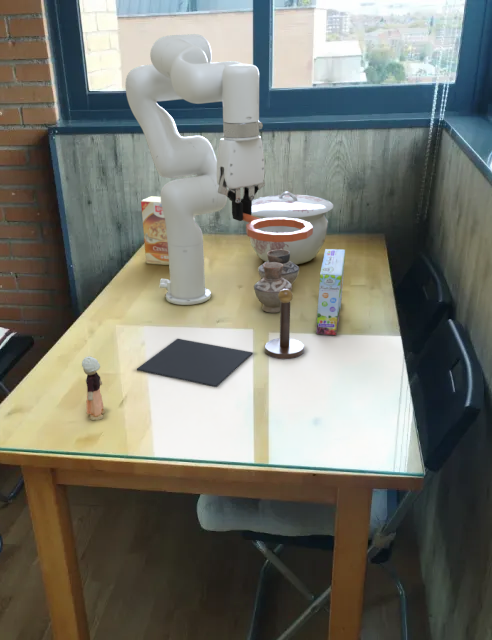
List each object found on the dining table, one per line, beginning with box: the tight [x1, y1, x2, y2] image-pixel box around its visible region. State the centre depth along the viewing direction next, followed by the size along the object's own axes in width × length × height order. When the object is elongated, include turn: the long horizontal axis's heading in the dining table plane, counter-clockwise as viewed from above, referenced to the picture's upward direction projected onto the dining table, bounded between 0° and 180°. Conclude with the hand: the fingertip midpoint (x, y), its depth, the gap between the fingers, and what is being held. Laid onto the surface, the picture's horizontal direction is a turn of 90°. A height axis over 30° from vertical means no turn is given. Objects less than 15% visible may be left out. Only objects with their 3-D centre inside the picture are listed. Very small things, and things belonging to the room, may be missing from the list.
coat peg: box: [264, 289, 305, 360], centre depth 156 cm, size 9×9×15 cm
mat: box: [136, 338, 253, 388], centre depth 156 cm, size 20×18×1 cm
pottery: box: [253, 250, 300, 314], centre depth 185 cm, size 11×25×12 cm, turn 170°
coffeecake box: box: [140, 195, 196, 266], centre depth 215 cm, size 15×7×20 cm, turn 67°
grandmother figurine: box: [81, 355, 106, 421], centre depth 134 cm, size 8×4×13 cm, turn 5°
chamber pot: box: [247, 191, 335, 266], centre depth 213 cm, size 28×28×21 cm
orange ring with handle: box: [242, 213, 313, 242], centre depth 149 cm, size 24×14×2 cm, turn 33°
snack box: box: [315, 248, 346, 336], centre depth 171 cm, size 21×6×15 cm, turn 168°
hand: (241, 218), depth 155 cm, fingers closed on orange ring with handle, 1 cm apart
